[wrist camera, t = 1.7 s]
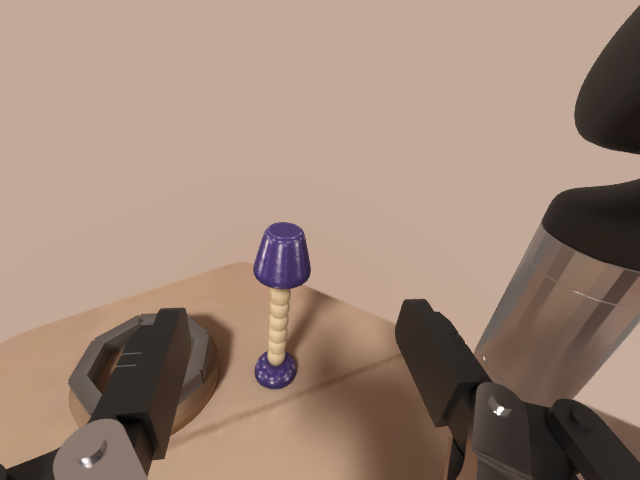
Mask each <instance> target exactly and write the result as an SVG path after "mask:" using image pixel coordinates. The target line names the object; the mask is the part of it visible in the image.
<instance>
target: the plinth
mask: <svg viewBox="0 0 640 480" xmlns="http://www.w3.org/2000/svg"><path fill="white" fill-rule="evenodd" d="M157 314H158V313H157ZM157 314H141V315H140V317H139V316H138V315H137V316H135V317H133V318H132V319H130V320H128V321H126V322H124V323H122V324H121V325H119V326H117V327H115V328H113V329H111V330H109V331H108V332H106V333H104V334H102V335H100V336H98V337H96V338H95V341H91V343H90V345H89V346H88V348H87V350H86V351H85V353H84V355H83V356H82V358H81V360H80V361H79V363H78V365H77V366H76V368H75V370H74V371H73V373H72V375H71V376H70V378H69V380H68V381H69V383H68V384H69V386H70V394H69V407H70V411H71V414H72V415H73V417H74V419H75V421H76V423H77V424H78V426H79V428H81V427H83V426H85V425H86V424H87V423H88V421H89V420H90V418H91V416H92V414H93V412H94V410H95V408H96V406H97V404H98V402H99V400H100V397H101V395H102V393H103V391H104V389H105V387H106V385H107V383H108V381H109V379H110V377H111V375H112V373H113V370H114V368H116V364H117V362H118V360H119V358H120V356H122V352H123V350H124V348H125V346H126V343H127V341H128V339H129V338H130V337H131V336H132V335H133V334H134V333H135V332H136V331H137V330H138V329H139V328H140V327H141V326H142V325H153V323H154V321H155V318H156V316H157ZM187 319H188V324H189V330H190V335H191V354H190V358H189V362H188V367H187V371H186V375H185V379H184V383H183V387H182V391H181V395H180V399H179V403H178V407H177V411H176V415H175V419H174V423H173V427H172V431H171V435H172V434H174V433H176V432H177V431H179V430H180V429H182V428H183V427H184V426H186V425H187V424H188V423H189V422H190V421H192V420H193V419H194V418H195V417H196V416H197V415H198V414H199V413H200V411H201V410H202V409H203V408H204V407H205V405H206V404H207V402H208V401H209V399H210V398H211V396H212V394H213V392H214V390H215V387H216V384H217V381H218V376H219V363H218V355H217V349H216V345H215V343H214V340H213V338H212V337H211V336H210V334H209V332H208V331H207V330H206V329H204V328H203V327H202V326H201V325H199V324H198V323H197V322H195V321H194V320H193V319H192V318H190V317H189V316H188V315H187ZM171 435H170V436H171Z"/></svg>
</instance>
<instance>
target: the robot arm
mask: <svg viewBox="0 0 640 480" xmlns="http://www.w3.org/2000/svg"><path fill="white" fill-rule="evenodd" d="M574 117H575V125H576V127H577V130H578V132H579V134H580V135H581V136H582V137H583V138H584V139H585V140H587V141H589V142H591V143H594V144H596V145H598V146H601V147H603V148H607V149H610V150H615V151H623V152H629V153H633V154H640V6H639V7H638V8H637V9H636V10H635V11H634V12H633V13H632V15H631V16H630V17H629V18H628V19H627V20H626V21H625V23H624V24H623V25H622V26H621V27H620V28H619V30H618V31H617V32H616V34H615V35H614V36H613V37H612V39H611V40H610V42H609V43H608V44H607V45H606V47H605V48H604V50H603V51H602V52H601V54H600V55H599V57H598V58H597V60H596V62H595V63H594V65H593V66H592V68H591V70H590V71H589V73H588V75H587V77H586V79H585V80H584V83H583V85H582V87H581V90H580V92H579V95H578V98H577V101H576V105H575V114H574ZM639 323H640V179H637V180H634V181H630V182H625V183H620V184H614V185H607V186H597V187H584V188H574V189H569V190H566V191H564V192H561V193H560V194H558V195H557V196H556V197H555V198H554V199H553V200H552V202H551V204H550V205H549V207H548V209H547V211H546V213H545V215H544V217H543V219H542V221H541V223H540V225H539V227H538V229H537V231H536V233H535V234H534V237H533V239H532V240H531V242H530V244H529V246H528V249H527V250H526V252H525V254H524V256H523V258H522V260H521V262H520V264H519V266H518V268H517V270H516V272H515V274H514V275H513V278H512V279H511V281H510V283H509V285H508V287H507V289H506V291H505V293H504V295H503V297H502V299H501V301H500V303H499V304H498V306H497V308H496V310H495V312H494V314H493V316H492V318H491V320H490V322H489V324H488V326H487V327H486V329H485V331H484V333H483V335H482V337H481V339H480V341H479V343H478V345H477V347H476V349H475V352H474V354H473V353H472V352H471V350H470V349H469V347H468V346H467V345H466V344H465V342H464V340H463V339H462V337H461V336H460V335H459V334H458V331H457V330H456V329H455V327H454V326H453V325H452V323H451V321H449V320H448V319H447V318H446V317H445V316H443V315H442V314H441V313H440V312H434V311H433V309H432V308H431V306H430V305H429V303H428V302H427V300H425V299H407V300H404V301H403V304H402V307H401V311H400V314H399V317H398V320H397V324H396V327H395V337H396V342H397V344H398V346H399V349H400V351H401V353H402V355H403V357H404V359H405V362H406V364H407V366H408V368H409V370H410V373H411V375H412V377H413V379H414V381H415V383H416V386H417V388H418V390H419V392H420V394H421V396H422V399H423V401H424V403H425V405H426V407H427V410H428V412H429V414H430V416H431V418H432V420H433V423H434V425H435V427H442V426H448V427H449V429H450V431H451V435H450V438H449V443H448V450H447V456H446V463H445V469H444V476H443V480H579V479H578V478H577V476H576V475H577V474H578V473H579V472H580V473H581V475H582V476H583V478H584V479H585V480H640V463H639V462H638V460H637V459H636V458H635V457H634V456H633V455H632V453H631V452H630V451H629V450H628V449H627V448H626V447H625V445H624V444H623V443H622V442H621V441H620V440H619V439H618V437H617V436H616V435H615V434H614V433H613V432H612V431H611V429H610V428H609V427H608V426H607V425H606V424H605V422H604V421H603V420H602V419H601V418H600V417H599V416H598V415H597V414H596V413H595V412H593V411H592V410H591V409H589V408H588V407H586V406H585V405H583V404H581V403H579V402H577V401H574V400H572V399H573V398H574V397H575V396H576V395H577V394H578V393H579V391H580V390H581V389H582V388H583V387H584V386H585V385H586V384H587V382H588V381H589V380H590V379H591V378H592V377H593V376H594V374H595V373H596V372H597V371H598V370H599V369H600V367H601V366H602V365H603V364H604V363H605V362H606V361H607V359H608V358H609V357H610V356H611V355H612V354H613V353H614V351H615V350H616V349H617V348H618V347H619V346H620V344H621V343H622V342H623V341H624V340H625V339H626V338H627V336H628V335H629V334H630V333H631V332H632V331H633V330H634V328H635V327H636V326H637V325H638V324H639ZM190 354H191V335H190V330H189V324H188V319H187V313H186V309H185V308H162V309H160V310H159V311H158V314H157V316H156V318H155V321H154V323H153V325H142V326H141V327H140V328H139V329H138V330H137V331H136V332H135V333H134V334H133V335H132V336H131V337H130V338H129V339H128V341H127V343H126V346H125V348H124V350H123V352H122V356H120V358H119V360H118V362H117V364H116V368H114V370H113V373H112V375H111V377H110V379H109V381H108V383H107V385H106V387H105V389H104V391H103V393H102V395H101V397H100V400H99V402H98V404H97V406H96V408H95V410H94V412H93V414H92V416H91V418H90V420H89V421H88V423H87V424H86V425H85V426H83V427H81V428H80V429H78V430H77V431H76V432H74V433H73V434H72V435H71V436H70V437H69V438H68V439H67V440H66V441H65V442H64V443H63V444H62V446H61V447H59V448H58V449H56V450H54V451H52V452H49V453H47V454H45V455H42V456H39V457H37V458H34V459H32V460H29V461H27V462H24V463H21V464H19V465H16V466H14V467H11V468H9V469H5V468H4V466H2V465H1V464H0V480H148V478H147V477H148V473H149V469H150V466H151V462H152V460H159V459H165V455H166V451H167V447H168V443H169V439H170V435H171V431H172V427H173V423H174V419H175V415H176V411H177V407H178V403H179V399H180V395H181V391H182V387H183V383H184V379H185V375H186V371H187V367H188V362H189V358H190Z"/></svg>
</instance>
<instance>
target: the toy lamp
mask: <svg viewBox="0 0 640 480" xmlns="http://www.w3.org/2000/svg"><path fill="white" fill-rule="evenodd" d="M253 271H254V275H255V277H256V278H257V280H258V281H259V282H261V283H262V284H264V285H266V286H268V287H271V290H270V298H271V302H270V306H269V310H270V316H269V325H270V327H269V330H268V335H269V340H268V348H269V349H268V351H267V352H265V353H264V354H263V355H262V356H261V357H260V358H259V359H258V361H257V363H256V366H255V377H256V379H257V381H258V382H259V383H260V385H262V386H264V387H266V388H269V389H281V388H283V387H285V386H287V385H289V384H290V383H291V382H292V381H293V379H294V377H295V375H296V364H295V361H294V359H293V358H292V356H291V355H290V354H289V353H287V352H286V351H285V348H286V337H287V325H288V312H289V299H290V296H291V291H290V289H292V288H295V287H298V286H300V285H302V284H303V283H305V282H306V281H307V280H308V278H309V276H310V272H311V269H310V261H309V255H308V250H307V244H306V239H305V235H304V232H303V230H302V229H301V228H300V227H299V226H297V225H295V224H292V223H286V222H280V223H274V224H272V225H270V226H269V227H268V228H267V229H266V231H265V233H264V235H263V238H262V241H261V244H260V247H259V250H258V253H257V257H256V260H255V263H254V269H253Z"/></svg>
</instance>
